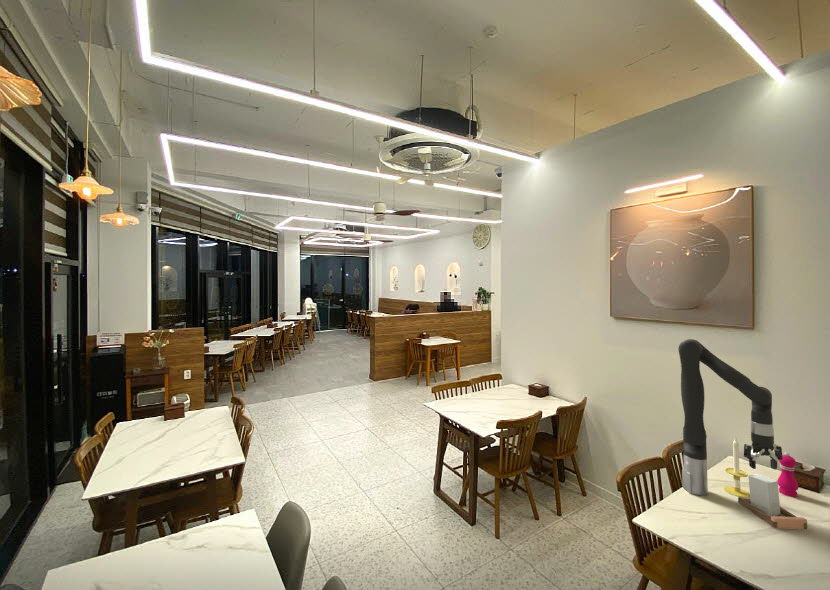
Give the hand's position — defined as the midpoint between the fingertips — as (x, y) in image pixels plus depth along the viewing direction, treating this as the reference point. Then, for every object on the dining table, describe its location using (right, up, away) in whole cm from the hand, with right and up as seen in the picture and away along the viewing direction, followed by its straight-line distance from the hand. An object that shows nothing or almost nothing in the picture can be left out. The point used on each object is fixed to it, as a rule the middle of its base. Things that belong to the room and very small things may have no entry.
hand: (763, 468), depth 163 cm
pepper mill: (+25, -19, +14) cm, 34 cm away
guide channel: (0, -19, -3) cm, 19 cm away
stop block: (-1, -19, -12) cm, 22 cm away
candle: (+2, -19, +16) cm, 25 cm away
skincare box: (0, -19, 0) cm, 19 cm away
